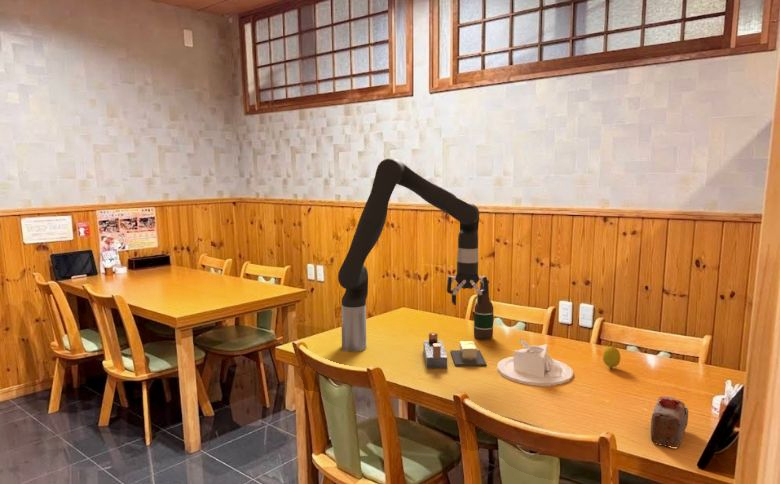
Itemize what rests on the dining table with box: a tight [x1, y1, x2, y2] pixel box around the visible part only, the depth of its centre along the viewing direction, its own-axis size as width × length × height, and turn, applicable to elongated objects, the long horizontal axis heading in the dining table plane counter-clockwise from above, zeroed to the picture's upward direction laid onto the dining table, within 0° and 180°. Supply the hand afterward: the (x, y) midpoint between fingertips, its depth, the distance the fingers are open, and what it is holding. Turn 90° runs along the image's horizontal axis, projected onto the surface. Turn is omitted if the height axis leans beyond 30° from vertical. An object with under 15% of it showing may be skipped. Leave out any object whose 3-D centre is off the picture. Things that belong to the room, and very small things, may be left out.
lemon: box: [602, 345, 621, 369], centre depth 179 cm, size 6×6×8 cm
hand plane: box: [423, 332, 448, 370], centre depth 189 cm, size 18×7×8 cm, turn 0°
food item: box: [650, 396, 689, 449], centre depth 134 cm, size 14×8×10 cm, turn 147°
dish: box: [497, 339, 574, 387], centre depth 177 cm, size 25×25×11 cm
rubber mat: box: [449, 349, 488, 367], centre depth 189 cm, size 11×14×1 cm
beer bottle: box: [473, 279, 494, 341], centre depth 212 cm, size 8×8×24 cm
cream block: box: [459, 340, 478, 361], centre depth 189 cm, size 5×8×4 cm, turn 0°
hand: (466, 304), depth 187 cm, fingers open, 8 cm apart
